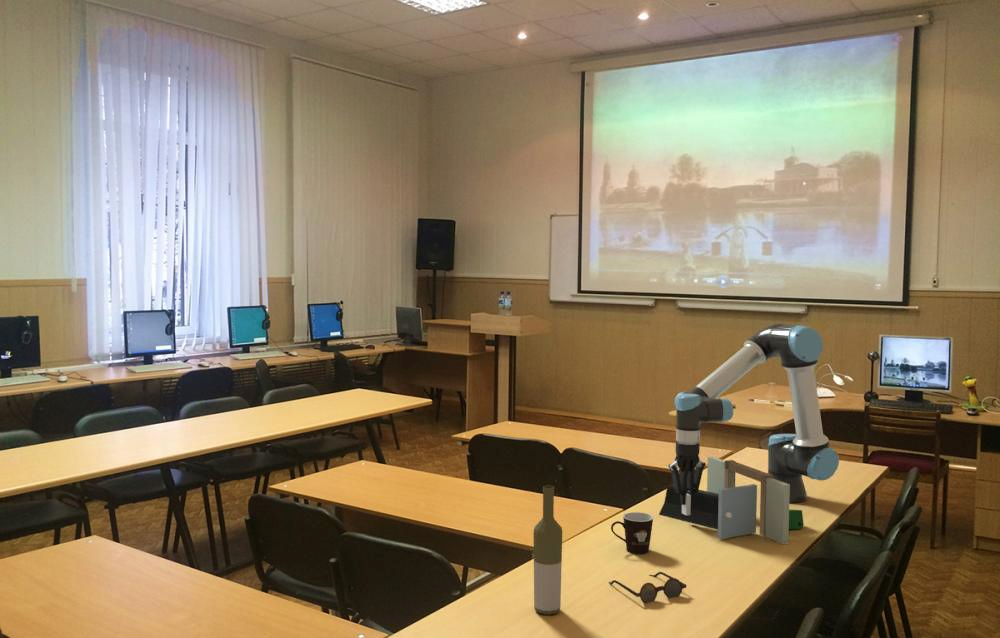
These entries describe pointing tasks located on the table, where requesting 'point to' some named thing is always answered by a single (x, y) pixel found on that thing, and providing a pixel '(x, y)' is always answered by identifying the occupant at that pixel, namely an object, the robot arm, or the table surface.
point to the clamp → (795, 519)
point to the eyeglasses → (657, 589)
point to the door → (737, 511)
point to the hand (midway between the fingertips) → (686, 514)
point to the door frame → (771, 498)
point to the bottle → (547, 558)
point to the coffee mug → (636, 532)
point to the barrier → (693, 508)
